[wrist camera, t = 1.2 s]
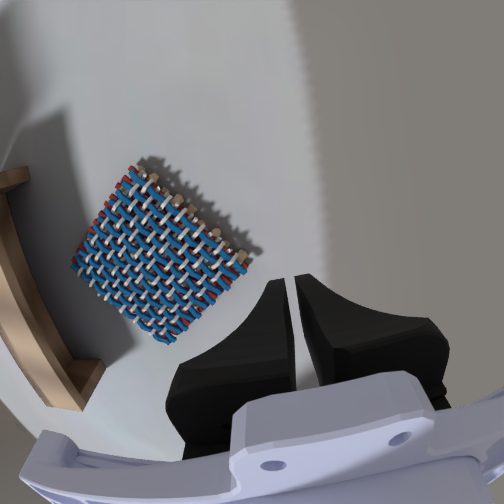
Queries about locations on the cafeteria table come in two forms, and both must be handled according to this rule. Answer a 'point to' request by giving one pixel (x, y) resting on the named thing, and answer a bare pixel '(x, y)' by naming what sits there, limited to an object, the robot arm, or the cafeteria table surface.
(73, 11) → the cafeteria table surface
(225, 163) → the cafeteria table surface
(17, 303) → the curved wooden frame
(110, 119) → the cafeteria table surface
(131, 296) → the woven mat
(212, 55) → the cafeteria table surface
